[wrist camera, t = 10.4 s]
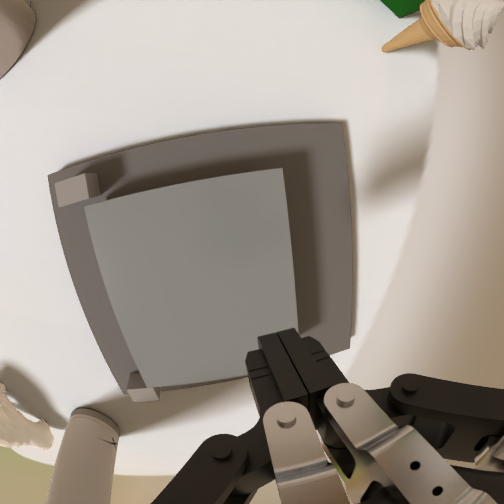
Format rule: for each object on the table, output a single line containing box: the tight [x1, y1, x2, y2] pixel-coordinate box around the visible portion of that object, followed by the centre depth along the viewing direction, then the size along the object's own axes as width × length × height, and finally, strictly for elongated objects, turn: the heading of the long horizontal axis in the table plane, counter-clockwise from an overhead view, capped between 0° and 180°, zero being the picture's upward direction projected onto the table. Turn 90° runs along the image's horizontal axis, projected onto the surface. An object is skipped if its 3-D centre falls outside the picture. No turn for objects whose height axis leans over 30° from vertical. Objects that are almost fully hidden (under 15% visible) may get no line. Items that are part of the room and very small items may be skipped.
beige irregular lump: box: [0, 383, 54, 450], centre depth 17 cm, size 6×8×12 cm
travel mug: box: [46, 408, 120, 504], centre depth 14 cm, size 6×7×20 cm
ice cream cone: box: [382, 0, 504, 52], centre depth 11 cm, size 6×6×15 cm
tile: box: [84, 168, 298, 388], centre depth 18 cm, size 14×2×12 cm
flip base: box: [48, 123, 353, 402], centre depth 19 cm, size 20×22×3 cm
